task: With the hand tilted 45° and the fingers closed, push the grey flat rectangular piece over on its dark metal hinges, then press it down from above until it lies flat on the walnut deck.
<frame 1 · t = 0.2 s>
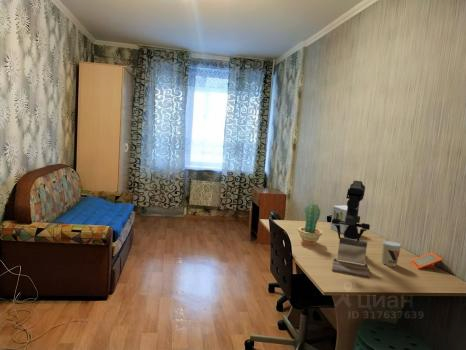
hand: (348, 240, 190), 15 cm above the table, tool tilted 15°, fingers open, 9 cm apart
potted cactus: (308, 242, 232), on the table
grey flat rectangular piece: (351, 250, 197), point 8 cm above the table, hinge at 93.0°
coffee cup: (388, 264, 205), on the table
walnut deck: (350, 269, 192), on the table
supplement box: (342, 230, 268), on the table
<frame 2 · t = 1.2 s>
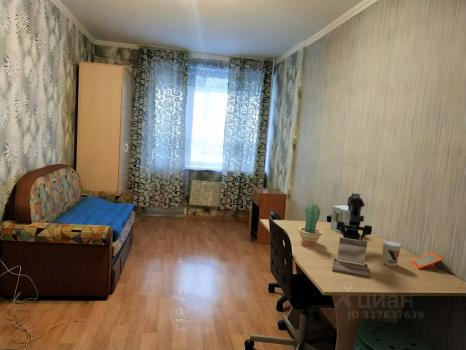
hand: (352, 241, 200), 12 cm above the table, tool tilted 45°, fingers open, 8 cm apart
nothing on the table moved.
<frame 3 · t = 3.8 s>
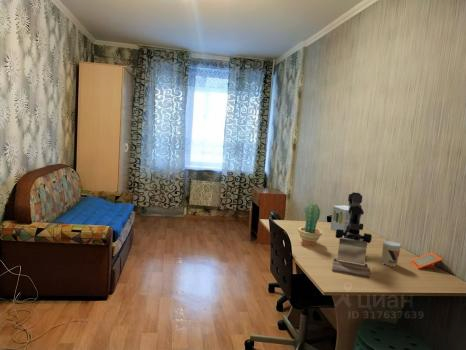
hand: (352, 249, 198), 9 cm above the table, tool tilted 45°, fingers closed, pressing on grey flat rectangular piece
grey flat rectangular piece: (351, 250, 197), point 8 cm above the table, hinge at 90.1°, touching gripper
everything else where it was.
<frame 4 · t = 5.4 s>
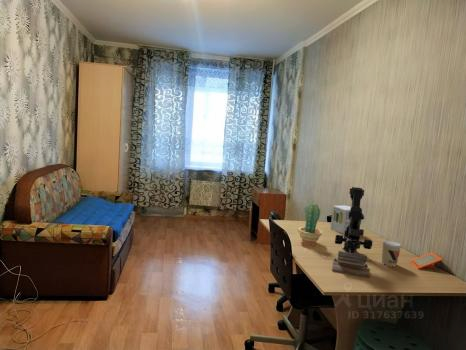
hand: (352, 256, 190), 7 cm above the table, tool tilted 45°, fingers closed, pressing on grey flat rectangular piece
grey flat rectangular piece: (351, 258, 192), point 6 cm above the table, hinge at 32.7°, touching gripper
everything else where it was.
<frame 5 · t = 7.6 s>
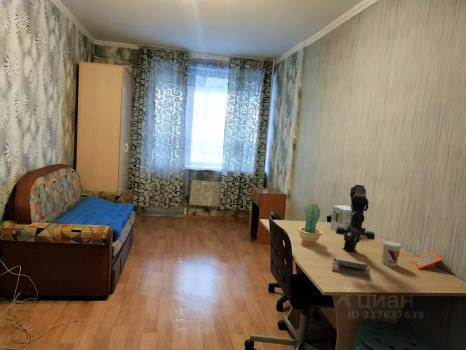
hand: (353, 249, 190), 11 cm above the table, tool pointing down, fingers closed
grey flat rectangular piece: (351, 262, 192), point 4 cm above the table, hinge at 10.1°
everything else where it was.
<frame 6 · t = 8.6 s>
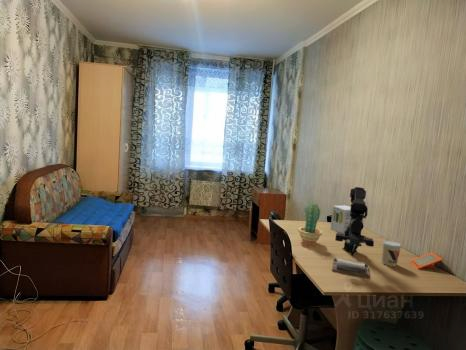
hand: (352, 255, 190), 8 cm above the table, tool pointing down, fingers closed
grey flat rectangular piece: (350, 264, 192), point 3 cm above the table, hinge at -0.2°
everything else where it was.
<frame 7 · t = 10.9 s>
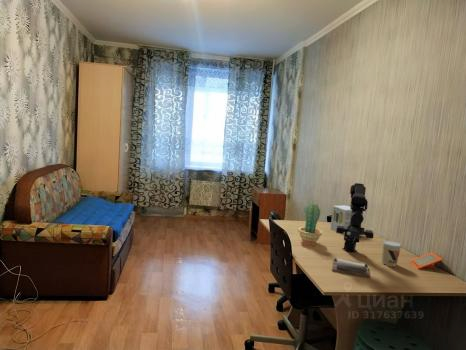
hand: (352, 247, 196), 10 cm above the table, tool pointing down, fingers closed
nothing on the table moved.
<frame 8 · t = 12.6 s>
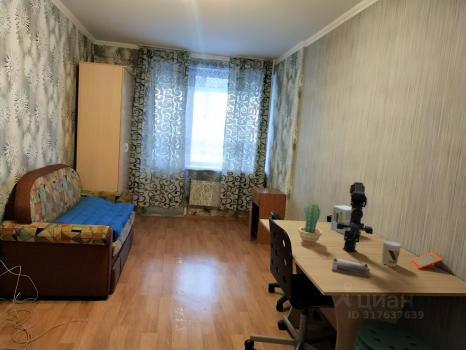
hand: (352, 242, 202), 11 cm above the table, tool pointing down, fingers closed
nothing on the table moved.
at the end: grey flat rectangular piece at +0° (first picture: +93°); coffee cup moved 0.2 cm from its start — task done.
